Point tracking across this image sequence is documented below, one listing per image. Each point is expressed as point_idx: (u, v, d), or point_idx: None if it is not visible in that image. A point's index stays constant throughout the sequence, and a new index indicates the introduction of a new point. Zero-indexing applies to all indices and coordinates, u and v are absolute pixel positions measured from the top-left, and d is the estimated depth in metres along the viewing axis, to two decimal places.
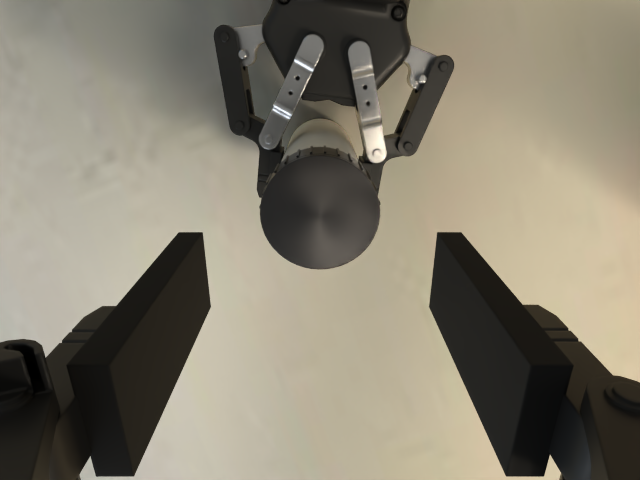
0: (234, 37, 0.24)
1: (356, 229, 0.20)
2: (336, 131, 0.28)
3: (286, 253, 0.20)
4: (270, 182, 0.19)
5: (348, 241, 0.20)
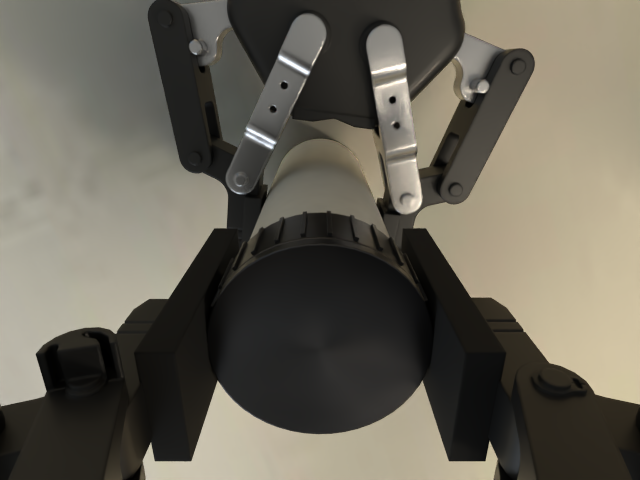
0: (181, 19, 0.15)
1: (388, 371, 0.10)
2: (344, 162, 0.19)
3: (258, 409, 0.11)
4: (223, 292, 0.10)
5: (373, 391, 0.11)
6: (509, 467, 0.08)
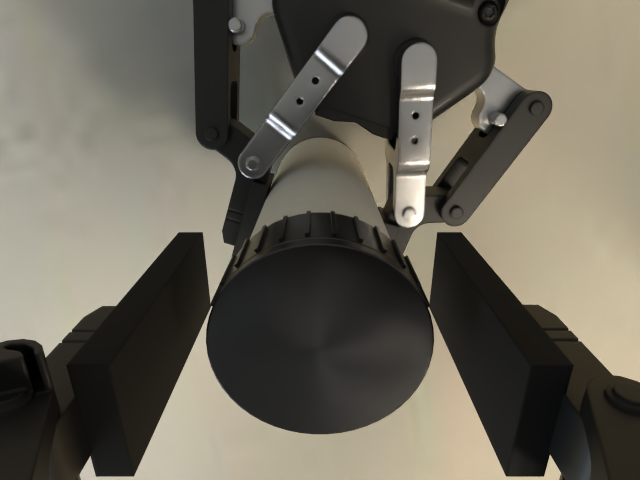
0: None
1: (352, 288, 0.10)
2: (352, 166, 0.19)
3: (391, 402, 0.11)
4: (257, 417, 0.11)
5: (377, 302, 0.10)
6: None
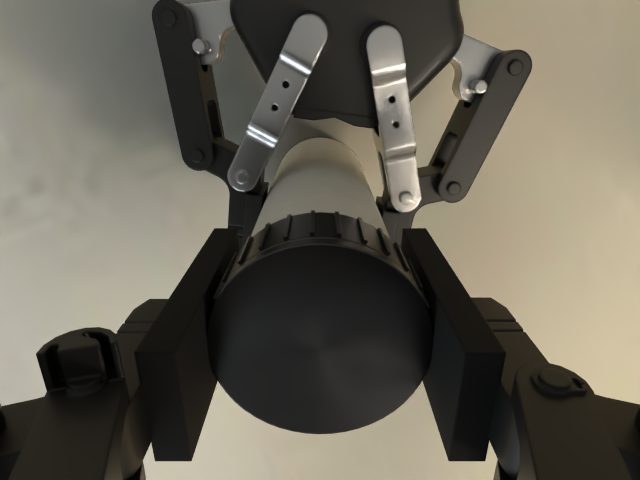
0: (185, 19, 0.15)
1: (338, 283, 0.10)
2: (344, 161, 0.19)
3: (403, 391, 0.11)
4: (273, 424, 0.11)
5: (366, 293, 0.10)
6: (509, 467, 0.08)
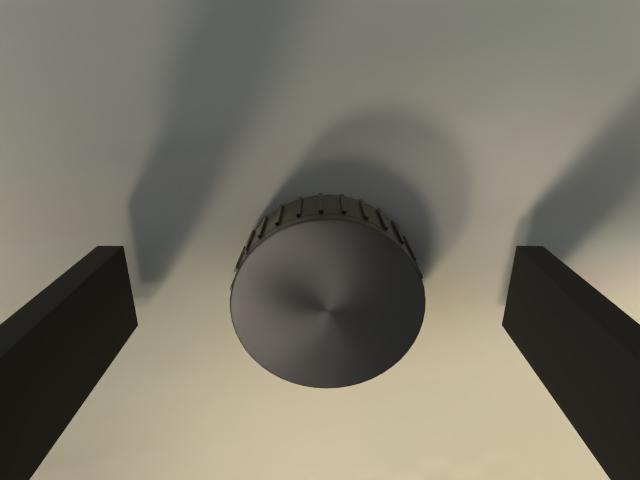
0: None
1: (344, 253, 0.11)
2: None
3: (399, 349, 0.12)
4: (287, 379, 0.13)
5: (367, 262, 0.11)
6: None
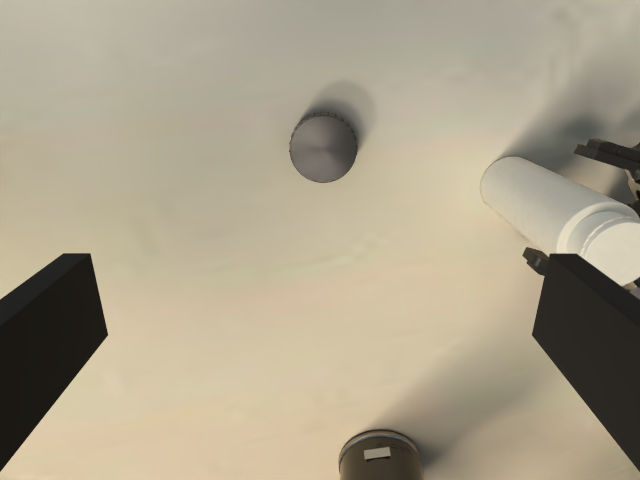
0: None
1: (328, 128, 0.34)
2: None
3: (348, 165, 0.35)
4: (308, 178, 0.35)
5: (336, 131, 0.34)
6: None
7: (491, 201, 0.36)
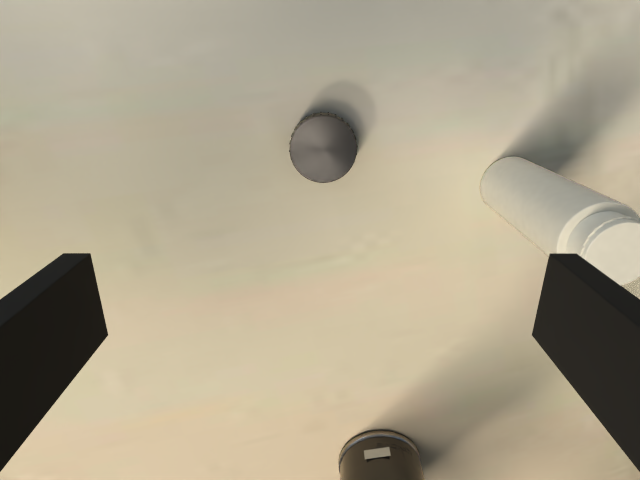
0: None
1: (328, 128, 0.34)
2: None
3: (348, 165, 0.35)
4: (308, 178, 0.35)
5: (336, 131, 0.34)
6: None
7: (491, 201, 0.36)
